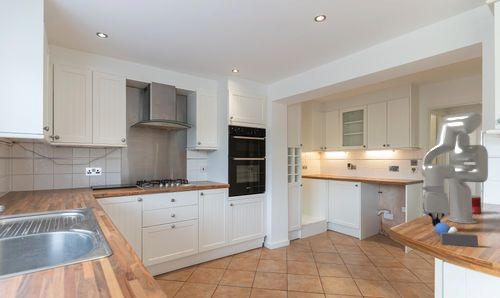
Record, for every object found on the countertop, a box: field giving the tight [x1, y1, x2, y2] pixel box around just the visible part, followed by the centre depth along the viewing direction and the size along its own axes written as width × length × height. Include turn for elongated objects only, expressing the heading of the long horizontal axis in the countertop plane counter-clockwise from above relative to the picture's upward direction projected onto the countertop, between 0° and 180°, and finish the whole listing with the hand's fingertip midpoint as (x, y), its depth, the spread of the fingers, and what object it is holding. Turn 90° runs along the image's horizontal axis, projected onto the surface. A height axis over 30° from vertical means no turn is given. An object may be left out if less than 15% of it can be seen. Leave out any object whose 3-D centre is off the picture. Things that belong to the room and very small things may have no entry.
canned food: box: [471, 194, 482, 215], centre depth 161 cm, size 8×8×11 cm
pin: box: [448, 226, 458, 233], centre depth 108 cm, size 2×2×9 cm
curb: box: [439, 232, 479, 248], centre depth 103 cm, size 2×12×4 cm, turn 72°
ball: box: [434, 222, 451, 236], centre depth 115 cm, size 6×6×6 cm
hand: (436, 226), depth 125 cm, fingers closed
